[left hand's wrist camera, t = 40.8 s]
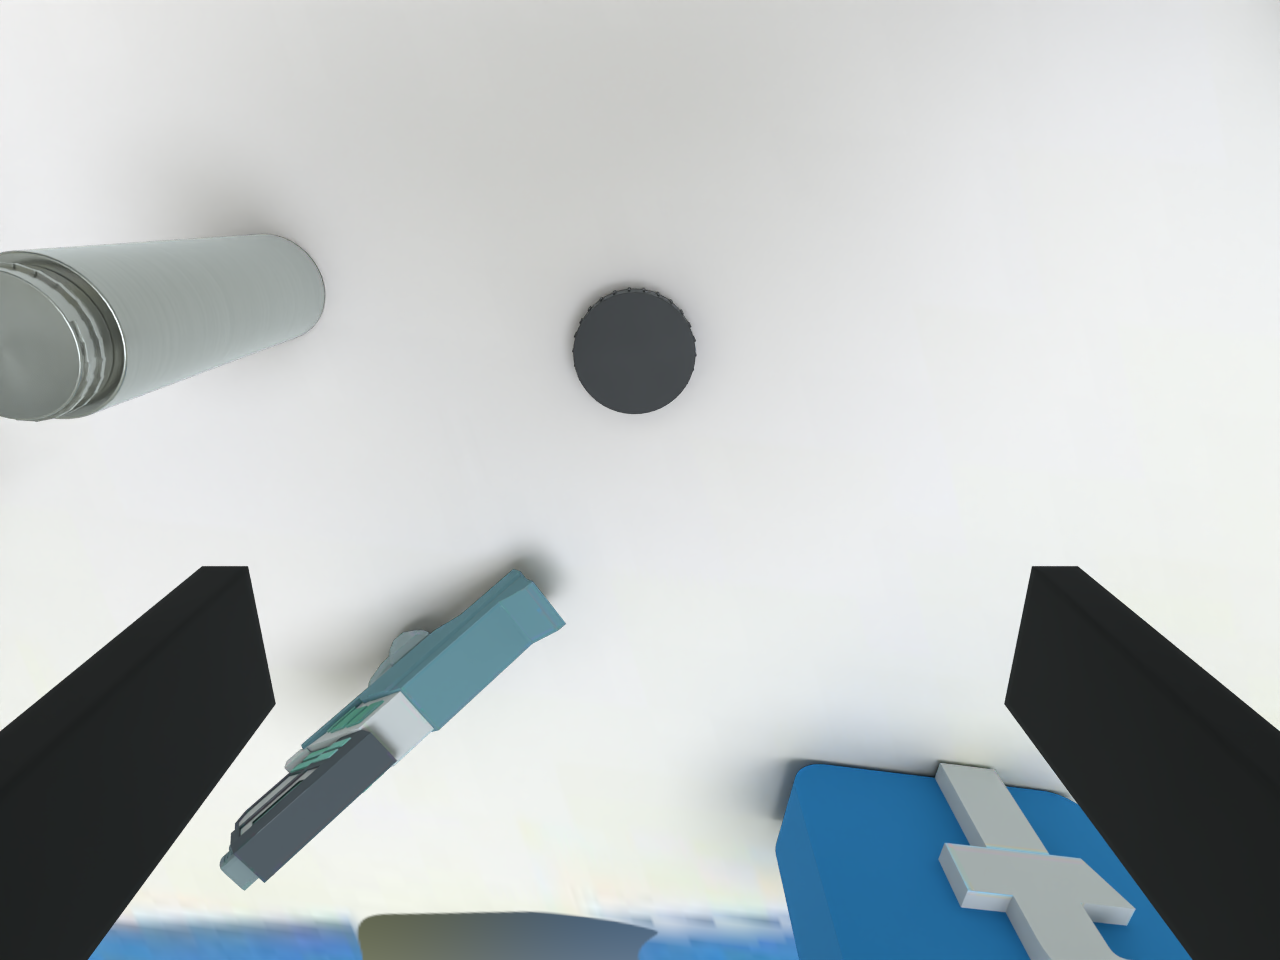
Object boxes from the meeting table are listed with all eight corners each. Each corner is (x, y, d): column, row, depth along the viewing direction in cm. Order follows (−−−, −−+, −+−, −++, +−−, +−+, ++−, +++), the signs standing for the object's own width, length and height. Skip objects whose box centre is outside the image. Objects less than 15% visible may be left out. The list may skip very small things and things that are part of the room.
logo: (764, 841, 51) (838, 1212, 32) (788, 744, 48) (884, 1088, 29) (1048, 871, 52) (1281, 1248, 33) (1088, 777, 49) (1366, 1131, 30)
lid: (704, 297, 39) (707, 301, 37) (683, 415, 41) (684, 423, 39) (583, 277, 38) (580, 281, 37) (567, 397, 40) (564, 405, 39)
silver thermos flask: (243, 348, 40) (-37, 446, 23) (205, 244, 38) (-127, 273, 21) (338, 329, 39) (123, 416, 23) (305, 224, 37) (45, 236, 21)
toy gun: (212, 781, 41) (202, 864, 32) (480, 556, 48) (532, 574, 39) (258, 824, 42) (260, 916, 33) (513, 598, 49) (572, 624, 40)
